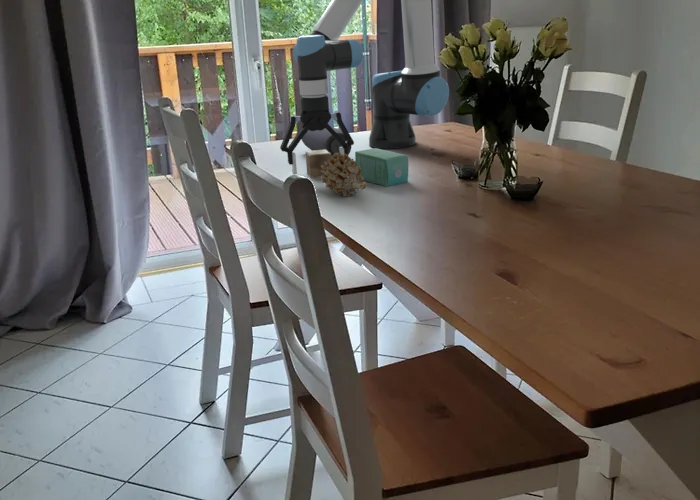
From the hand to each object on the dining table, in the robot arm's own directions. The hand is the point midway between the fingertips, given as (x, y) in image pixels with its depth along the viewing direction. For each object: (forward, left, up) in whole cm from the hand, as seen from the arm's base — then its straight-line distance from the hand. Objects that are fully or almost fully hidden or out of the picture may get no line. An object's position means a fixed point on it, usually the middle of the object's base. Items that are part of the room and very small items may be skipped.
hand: (319, 173), depth 194 cm
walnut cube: (0, 0, 0) cm, 0 cm away
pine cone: (-2, +27, 0) cm, 27 cm away
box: (-14, +14, 0) cm, 20 cm away
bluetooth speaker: (-6, -20, 0) cm, 21 cm away
